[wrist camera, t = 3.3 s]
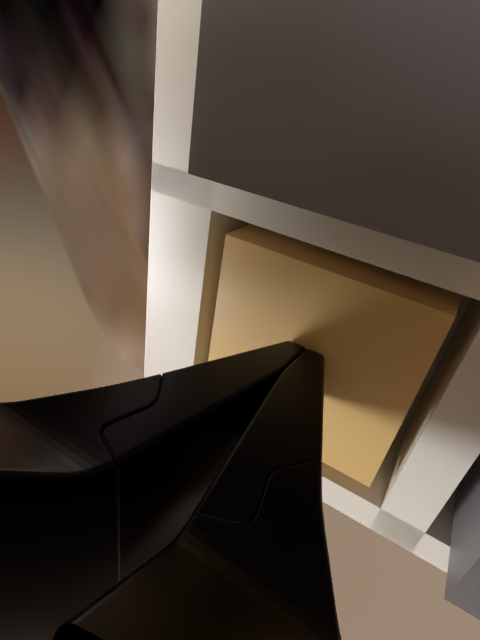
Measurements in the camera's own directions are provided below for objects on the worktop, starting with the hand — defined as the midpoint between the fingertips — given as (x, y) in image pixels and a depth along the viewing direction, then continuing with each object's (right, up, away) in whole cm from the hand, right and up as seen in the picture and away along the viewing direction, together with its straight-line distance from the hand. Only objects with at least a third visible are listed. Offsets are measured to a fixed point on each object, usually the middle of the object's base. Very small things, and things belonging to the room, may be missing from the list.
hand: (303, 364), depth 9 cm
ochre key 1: (+1, +1, +2) cm, 3 cm away
